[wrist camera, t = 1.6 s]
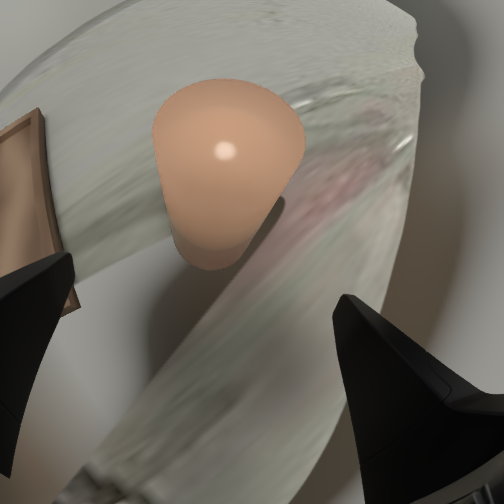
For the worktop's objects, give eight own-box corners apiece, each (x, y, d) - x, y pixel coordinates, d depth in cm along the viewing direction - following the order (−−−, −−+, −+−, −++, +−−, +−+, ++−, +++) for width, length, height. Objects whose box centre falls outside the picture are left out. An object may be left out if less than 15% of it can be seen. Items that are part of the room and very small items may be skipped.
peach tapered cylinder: (192, 283, 20) (187, 220, 9) (162, 215, 21) (135, 100, 9) (262, 250, 22) (333, 164, 10) (228, 188, 23) (260, 70, 11)
